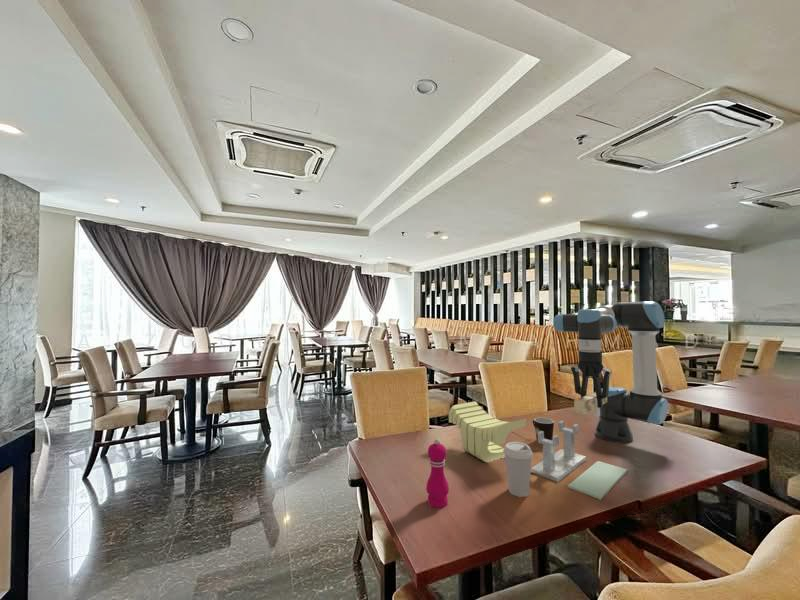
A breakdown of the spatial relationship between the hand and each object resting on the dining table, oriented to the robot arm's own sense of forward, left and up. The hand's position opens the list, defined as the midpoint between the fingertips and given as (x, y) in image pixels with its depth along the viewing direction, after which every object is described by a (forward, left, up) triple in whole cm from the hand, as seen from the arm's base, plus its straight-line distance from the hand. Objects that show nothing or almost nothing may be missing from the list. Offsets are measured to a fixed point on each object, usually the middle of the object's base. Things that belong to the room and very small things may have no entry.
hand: (592, 414), depth 122 cm
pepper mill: (+54, -27, -23) cm, 65 cm away
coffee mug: (-20, -28, -23) cm, 42 cm away
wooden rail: (0, 0, +3) cm, 3 cm away
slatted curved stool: (+12, -38, -23) cm, 46 cm away
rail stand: (0, -12, -23) cm, 26 cm away
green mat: (0, +2, -23) cm, 23 cm away
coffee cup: (+29, -13, -23) cm, 39 cm away
